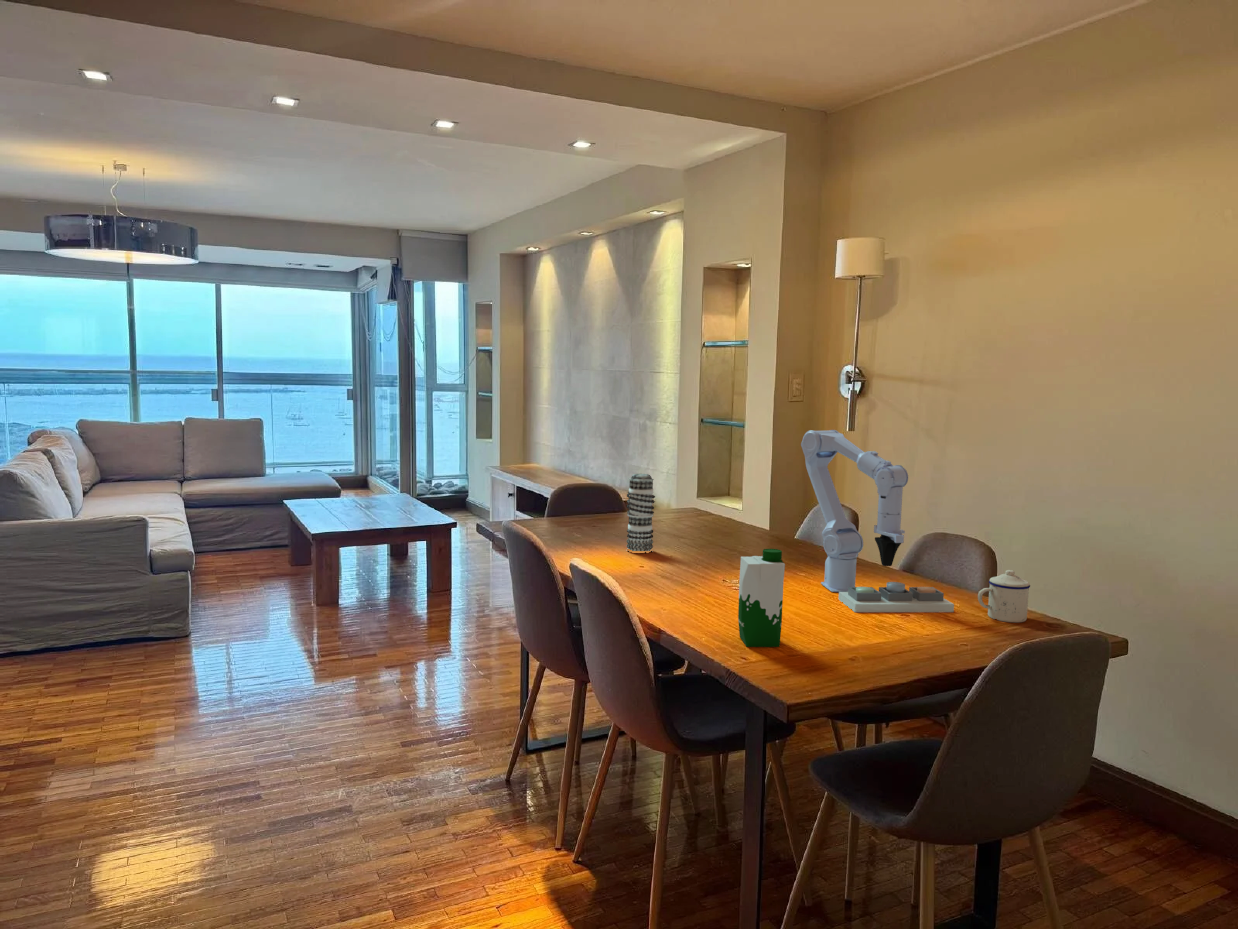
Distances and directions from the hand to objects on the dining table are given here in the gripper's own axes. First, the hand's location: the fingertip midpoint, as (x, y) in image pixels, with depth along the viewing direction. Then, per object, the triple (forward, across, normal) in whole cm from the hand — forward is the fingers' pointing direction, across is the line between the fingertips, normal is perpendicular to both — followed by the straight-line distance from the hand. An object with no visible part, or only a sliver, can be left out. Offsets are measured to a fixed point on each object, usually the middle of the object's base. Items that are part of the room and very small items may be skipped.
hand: (886, 565), depth 218 cm
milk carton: (+10, -33, +41) cm, 53 cm away
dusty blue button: (+6, -4, -1) cm, 7 cm away
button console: (+9, -4, -1) cm, 10 cm away
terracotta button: (+7, -4, -9) cm, 12 cm away
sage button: (+7, -4, +7) cm, 11 cm away
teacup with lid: (+10, -15, -23) cm, 29 cm away
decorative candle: (+10, +62, +57) cm, 85 cm away
